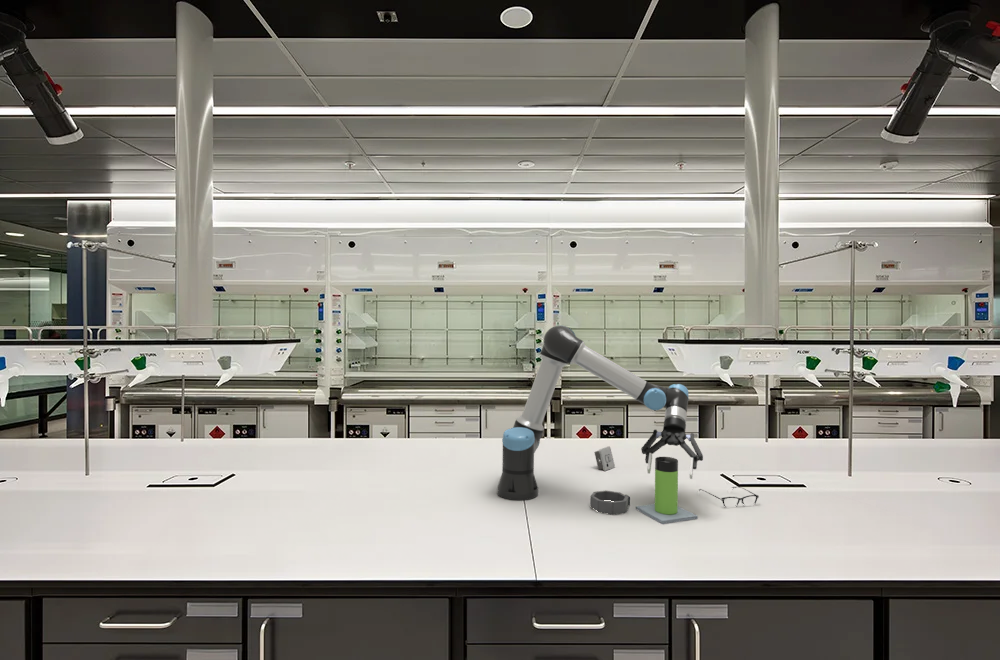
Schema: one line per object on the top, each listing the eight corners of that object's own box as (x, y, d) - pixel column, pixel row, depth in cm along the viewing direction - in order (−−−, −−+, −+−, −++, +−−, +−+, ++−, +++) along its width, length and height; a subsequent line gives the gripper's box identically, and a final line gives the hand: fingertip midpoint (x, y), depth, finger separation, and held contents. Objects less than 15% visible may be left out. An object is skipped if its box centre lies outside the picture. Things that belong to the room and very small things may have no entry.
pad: (662, 524, 165) (662, 520, 165) (635, 509, 178) (635, 506, 178) (697, 518, 170) (697, 515, 170) (669, 504, 183) (669, 502, 183)
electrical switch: (605, 471, 224) (603, 450, 225) (594, 470, 227) (593, 449, 228) (615, 467, 231) (613, 446, 232) (604, 466, 235) (603, 445, 235)
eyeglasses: (721, 509, 180) (721, 498, 180) (693, 495, 196) (693, 484, 195) (761, 506, 184) (761, 494, 184) (731, 492, 200) (731, 481, 200)
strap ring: (603, 516, 171) (603, 503, 171) (585, 504, 182) (585, 492, 182) (638, 511, 176) (638, 499, 176) (618, 500, 187) (618, 489, 187)
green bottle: (660, 505, 179) (660, 455, 179) (680, 510, 174) (681, 459, 174) (650, 511, 174) (651, 459, 173) (672, 516, 169) (672, 463, 169)
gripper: (712, 431, 186) (709, 485, 172) (640, 424, 196) (632, 474, 183) (712, 419, 181) (709, 473, 168) (638, 412, 191) (630, 463, 178)
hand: (669, 474), depth 175 cm, fingers open, 13 cm apart
